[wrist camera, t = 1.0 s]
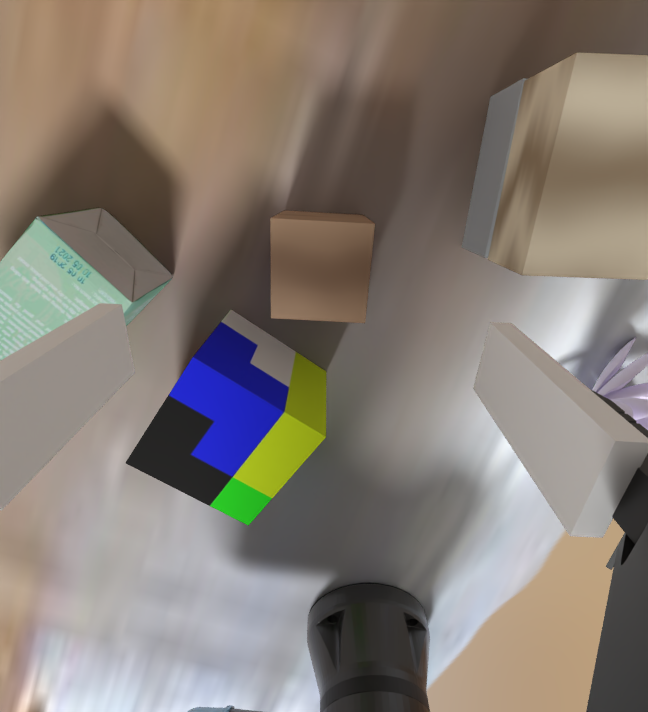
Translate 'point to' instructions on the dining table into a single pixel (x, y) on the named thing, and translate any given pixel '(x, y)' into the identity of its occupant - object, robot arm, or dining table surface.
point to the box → (72, 274)
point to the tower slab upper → (578, 172)
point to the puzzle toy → (236, 421)
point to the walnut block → (320, 266)
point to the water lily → (636, 400)
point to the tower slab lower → (491, 168)
